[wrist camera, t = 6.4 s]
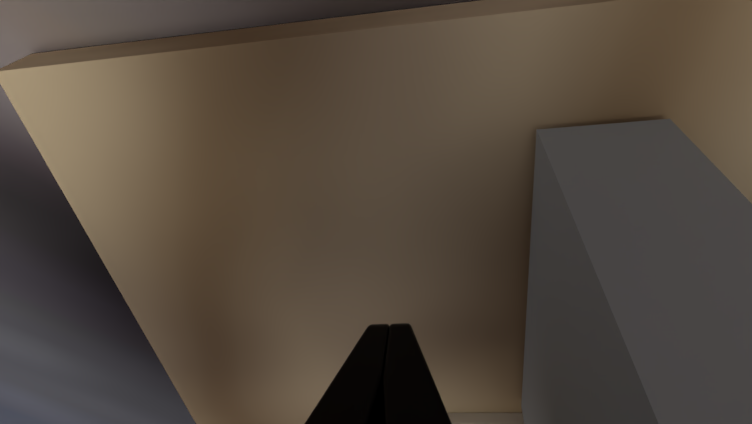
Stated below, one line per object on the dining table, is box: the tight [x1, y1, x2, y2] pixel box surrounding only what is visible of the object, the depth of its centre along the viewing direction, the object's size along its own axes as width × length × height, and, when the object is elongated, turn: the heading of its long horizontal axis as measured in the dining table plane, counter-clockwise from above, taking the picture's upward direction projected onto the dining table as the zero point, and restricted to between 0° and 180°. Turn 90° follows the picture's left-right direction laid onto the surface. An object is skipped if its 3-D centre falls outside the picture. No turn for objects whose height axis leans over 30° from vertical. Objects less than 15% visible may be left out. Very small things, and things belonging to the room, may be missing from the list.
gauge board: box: [0, 0, 752, 424], centre depth 8 cm, size 20×11×6 cm, turn 98°
